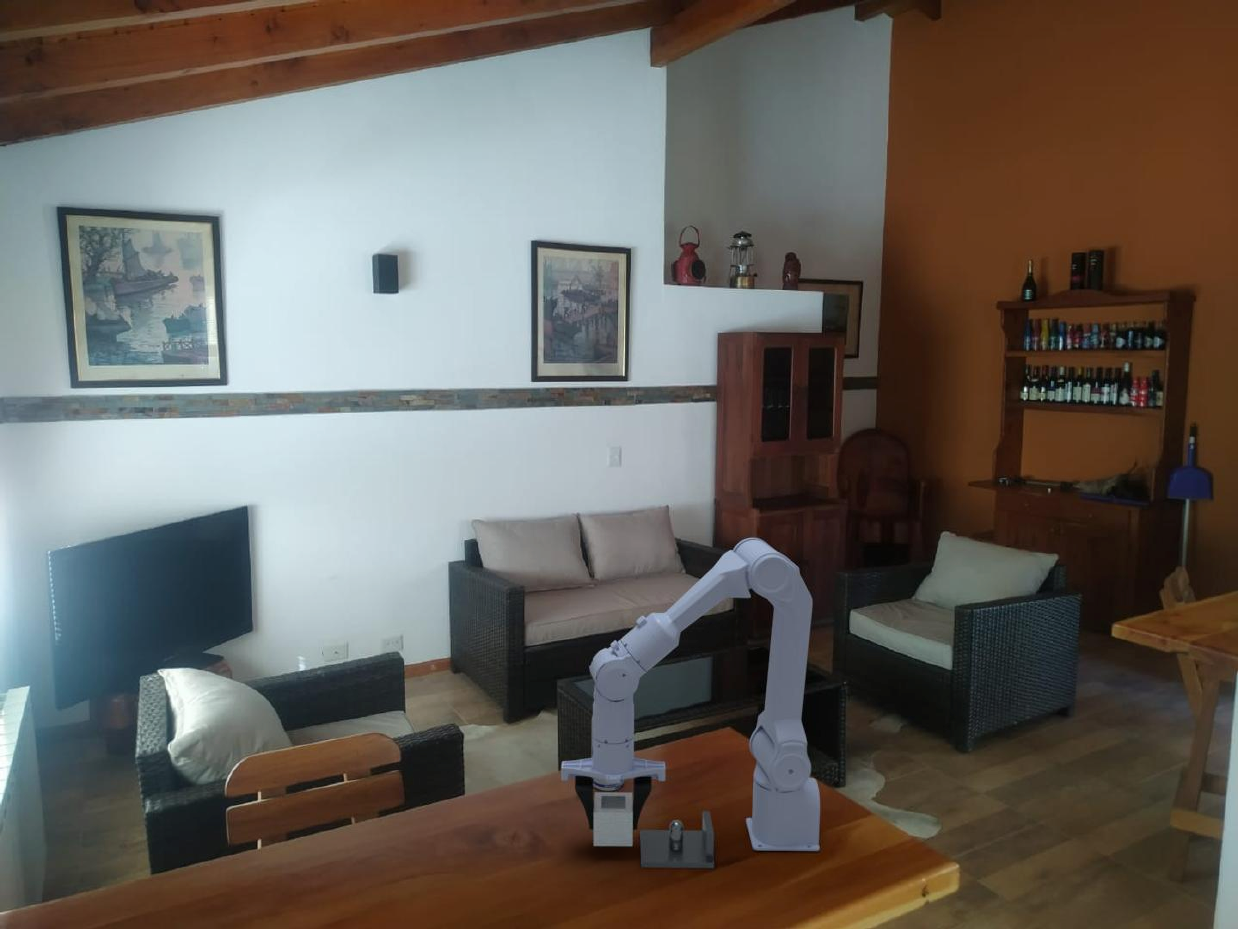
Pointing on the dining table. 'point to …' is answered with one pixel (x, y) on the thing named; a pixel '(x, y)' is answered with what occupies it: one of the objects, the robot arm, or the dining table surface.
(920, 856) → the dining table surface
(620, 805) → the hollow square tube
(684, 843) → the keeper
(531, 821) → the dining table surface
